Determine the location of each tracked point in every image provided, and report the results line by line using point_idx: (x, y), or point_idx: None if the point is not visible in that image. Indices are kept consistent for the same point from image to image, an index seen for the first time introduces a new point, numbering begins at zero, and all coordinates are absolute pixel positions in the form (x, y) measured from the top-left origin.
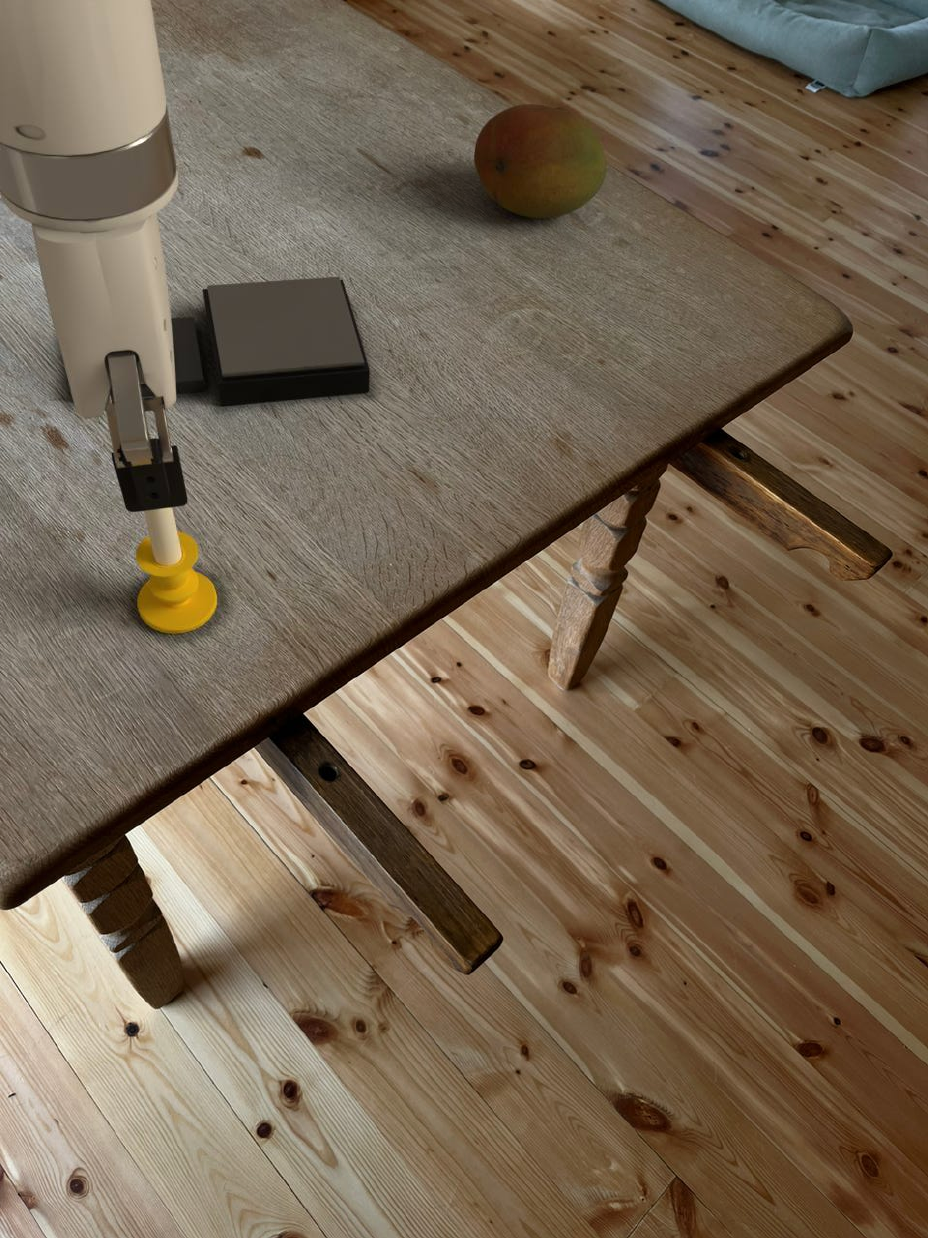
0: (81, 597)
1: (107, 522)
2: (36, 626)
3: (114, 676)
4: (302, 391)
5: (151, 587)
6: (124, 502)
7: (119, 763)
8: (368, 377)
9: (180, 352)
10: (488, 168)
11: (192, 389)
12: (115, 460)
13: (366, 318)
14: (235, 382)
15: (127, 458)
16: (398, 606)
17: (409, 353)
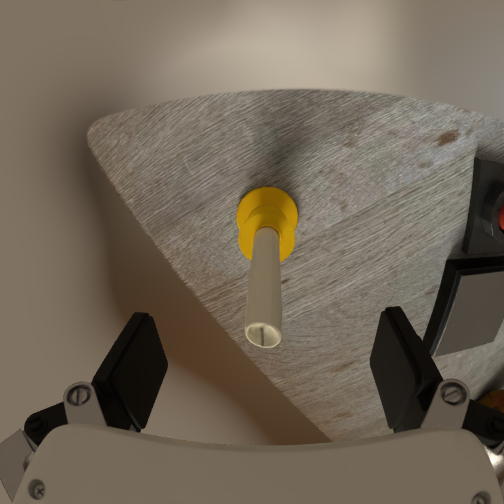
0: (283, 142)
1: (361, 166)
2: (257, 108)
3: (202, 168)
4: (435, 313)
5: (262, 208)
6: (129, 320)
7: (135, 176)
8: None
9: (490, 241)
10: (499, 401)
11: (464, 242)
12: (64, 396)
13: None
14: (454, 281)
15: (14, 435)
16: (246, 345)
17: (437, 361)
